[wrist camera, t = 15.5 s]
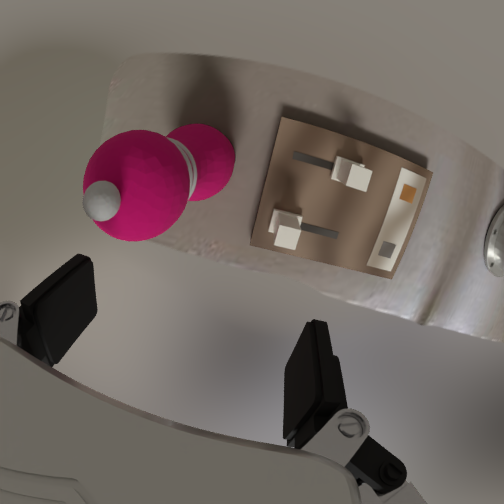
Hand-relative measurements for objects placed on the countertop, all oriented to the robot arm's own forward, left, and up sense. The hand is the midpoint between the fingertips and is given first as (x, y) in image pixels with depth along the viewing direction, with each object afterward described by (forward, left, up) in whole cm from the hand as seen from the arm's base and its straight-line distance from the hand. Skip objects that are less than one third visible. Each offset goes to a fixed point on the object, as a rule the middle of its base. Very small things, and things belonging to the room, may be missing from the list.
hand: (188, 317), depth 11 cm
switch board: (-11, -2, -21) cm, 24 cm away
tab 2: (-10, -6, -19) cm, 22 cm away
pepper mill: (+4, -3, -21) cm, 22 cm away
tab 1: (-5, +1, -19) cm, 20 cm away
